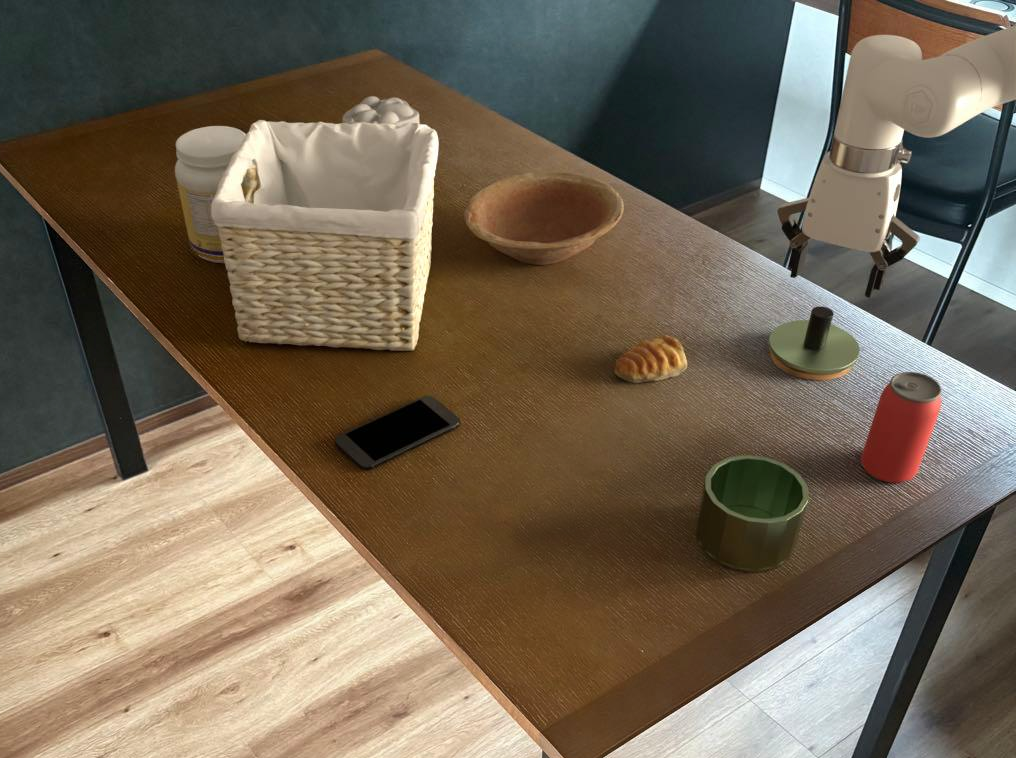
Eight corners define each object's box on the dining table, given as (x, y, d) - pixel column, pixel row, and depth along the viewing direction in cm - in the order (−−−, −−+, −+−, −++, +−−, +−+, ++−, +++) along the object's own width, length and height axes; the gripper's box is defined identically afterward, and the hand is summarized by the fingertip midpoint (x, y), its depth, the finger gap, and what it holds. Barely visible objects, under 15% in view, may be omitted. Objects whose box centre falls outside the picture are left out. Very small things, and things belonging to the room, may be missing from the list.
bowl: (496, 203, 177) (497, 157, 172) (636, 229, 171) (641, 181, 166) (441, 273, 162) (439, 224, 156) (593, 303, 155) (597, 253, 150)
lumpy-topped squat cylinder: (426, 157, 190) (424, 108, 184) (358, 173, 186) (354, 123, 180) (402, 135, 197) (399, 87, 191) (335, 149, 192) (330, 101, 186)
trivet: (863, 348, 147) (865, 343, 146) (837, 389, 140) (839, 384, 140) (786, 325, 151) (787, 320, 151) (757, 364, 144) (758, 359, 144)
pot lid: (869, 343, 147) (880, 303, 142) (841, 387, 139) (852, 347, 135) (785, 318, 151) (794, 279, 147) (754, 360, 144) (763, 320, 139)
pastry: (632, 394, 140) (635, 369, 137) (602, 368, 144) (605, 343, 141) (690, 373, 143) (694, 348, 140) (660, 348, 147) (663, 324, 145)
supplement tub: (212, 222, 173) (192, 118, 161) (282, 232, 171) (267, 127, 159) (176, 260, 165) (153, 153, 153) (250, 271, 162) (232, 163, 151)
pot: (807, 527, 122) (822, 476, 116) (773, 586, 115) (787, 535, 110) (718, 493, 126) (728, 443, 121) (680, 549, 119) (689, 498, 114)
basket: (445, 258, 165) (441, 117, 150) (428, 359, 146) (422, 209, 130) (270, 253, 166) (249, 113, 151) (231, 352, 147) (202, 203, 132)
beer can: (862, 445, 132) (887, 364, 124) (918, 456, 130) (948, 375, 122) (857, 478, 128) (883, 396, 119) (915, 490, 126) (945, 408, 118)
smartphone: (464, 425, 135) (464, 419, 134) (364, 473, 128) (364, 468, 128) (429, 397, 139) (429, 392, 139) (331, 443, 133) (330, 437, 132)
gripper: (947, 155, 125) (909, 287, 136) (802, 126, 131) (778, 253, 143) (930, 180, 120) (892, 314, 132) (781, 148, 127) (757, 278, 139)
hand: (833, 282), depth 138 cm, fingers open, 9 cm apart
